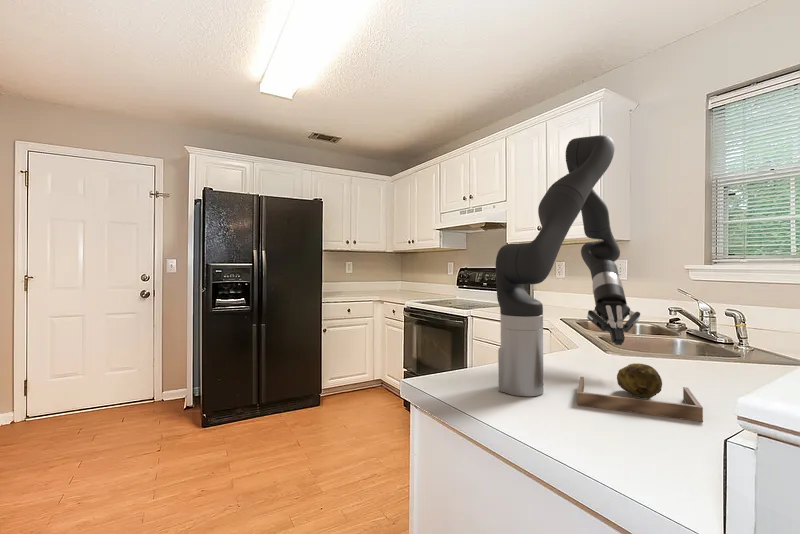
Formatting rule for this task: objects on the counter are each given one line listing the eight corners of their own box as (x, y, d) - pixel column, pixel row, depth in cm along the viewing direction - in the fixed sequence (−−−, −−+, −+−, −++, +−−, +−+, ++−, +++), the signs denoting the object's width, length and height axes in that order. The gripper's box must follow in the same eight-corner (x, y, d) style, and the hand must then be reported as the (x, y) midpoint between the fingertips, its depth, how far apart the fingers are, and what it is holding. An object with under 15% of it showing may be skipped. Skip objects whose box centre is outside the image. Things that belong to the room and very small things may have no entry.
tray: (577, 405, 82) (577, 392, 82) (580, 387, 94) (580, 376, 94) (702, 421, 72) (702, 407, 72) (688, 399, 85) (687, 387, 85)
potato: (660, 393, 89) (659, 357, 89) (663, 411, 78) (663, 369, 78) (617, 388, 93) (616, 353, 93) (614, 404, 82) (614, 364, 82)
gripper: (583, 282, 112) (591, 332, 100) (637, 282, 108) (652, 335, 96) (581, 300, 117) (588, 350, 105) (632, 301, 113) (645, 353, 101)
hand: (618, 343), depth 101 cm, fingers closed
